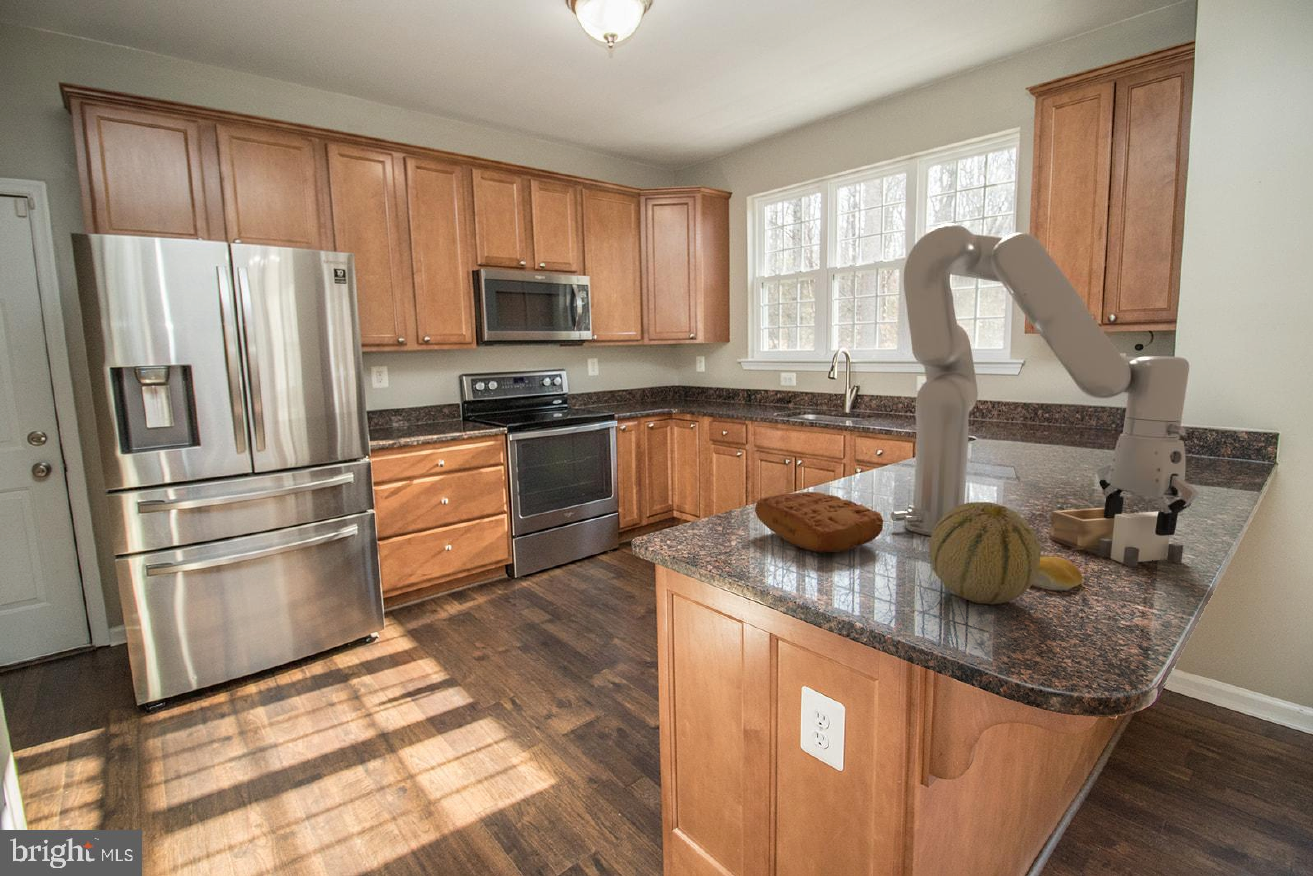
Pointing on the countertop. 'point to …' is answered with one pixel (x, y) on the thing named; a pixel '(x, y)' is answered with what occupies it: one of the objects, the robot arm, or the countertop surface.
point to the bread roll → (1057, 574)
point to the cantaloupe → (984, 552)
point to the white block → (1138, 537)
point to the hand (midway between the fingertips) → (1137, 526)
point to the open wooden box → (1096, 534)
